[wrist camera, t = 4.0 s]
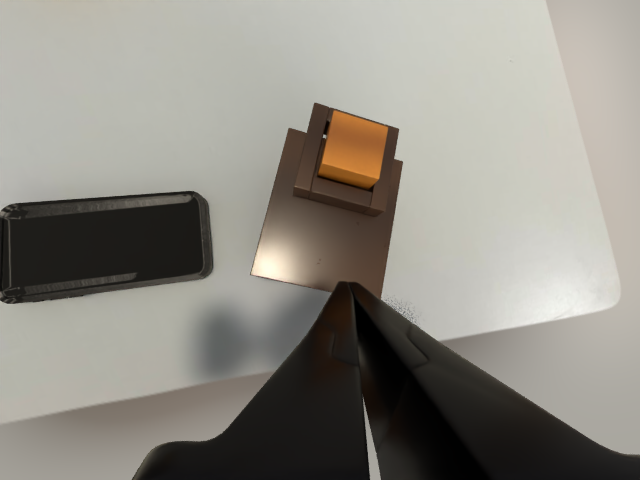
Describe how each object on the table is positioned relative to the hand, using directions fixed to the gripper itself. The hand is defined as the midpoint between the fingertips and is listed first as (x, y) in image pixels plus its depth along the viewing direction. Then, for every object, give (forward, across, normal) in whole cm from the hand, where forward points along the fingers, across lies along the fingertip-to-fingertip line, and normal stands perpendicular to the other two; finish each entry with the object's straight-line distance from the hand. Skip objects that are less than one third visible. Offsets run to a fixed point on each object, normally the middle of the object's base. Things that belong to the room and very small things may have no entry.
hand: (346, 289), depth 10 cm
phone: (+10, -18, -5) cm, 21 cm away
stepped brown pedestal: (+14, -1, -3) cm, 14 cm away
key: (+11, +1, +4) cm, 11 cm away
